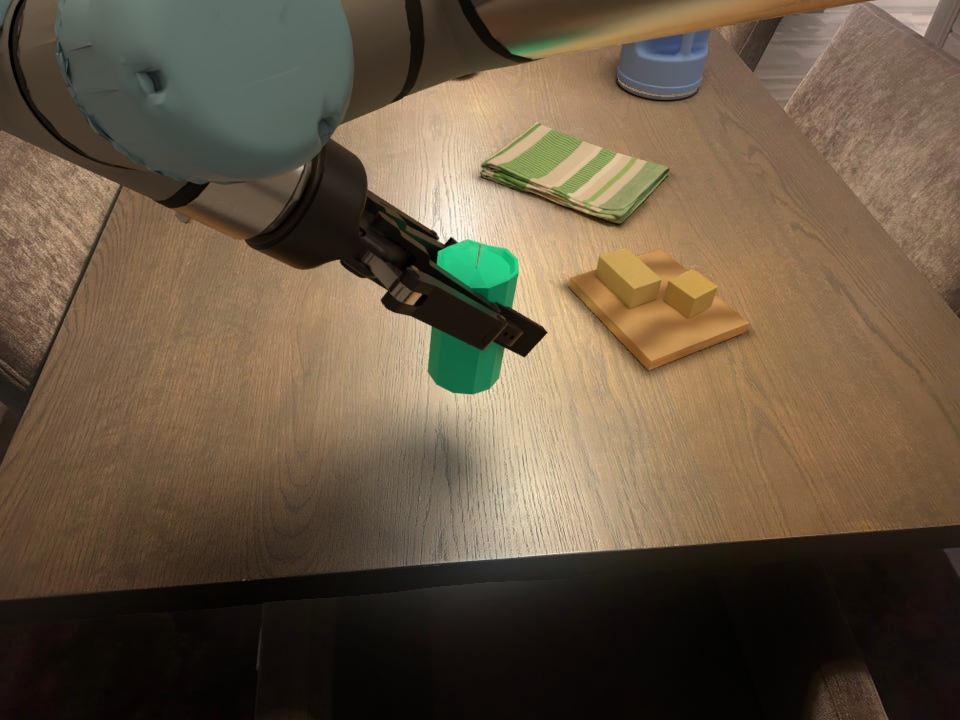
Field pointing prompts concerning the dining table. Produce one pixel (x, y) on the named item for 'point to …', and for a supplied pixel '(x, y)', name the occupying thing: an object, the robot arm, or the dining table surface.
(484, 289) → the candle
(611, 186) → the dish towel
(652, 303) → the butter board
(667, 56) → the water jug
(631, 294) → the butter block
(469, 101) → the dining table surface
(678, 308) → the butter slice
